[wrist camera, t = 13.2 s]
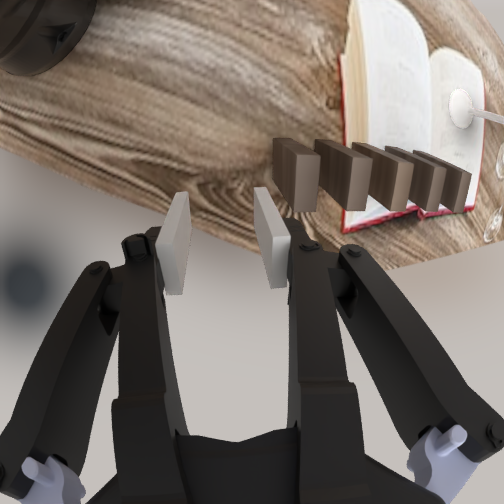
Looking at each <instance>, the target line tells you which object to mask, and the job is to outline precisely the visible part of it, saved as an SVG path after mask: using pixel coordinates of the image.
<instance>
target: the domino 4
mask: <svg viewBox="0 0 504 504" xmlns="http://www.w3.org/2000/svg"><path fill="white" fill-rule="evenodd" d="M385 151H386V152H388V153H391V154H393V155H395V156H397V157H400V158H402V159H404V160H406V161H408V162H411V163H413V164H414V168H413V174H412V180H411V186H410V191H409V196H408V199H409V200H410V201H412V202H413V203H415V204H416V205H417V206H419V207H420V208H422V209H423V210H424V211H431V212H438V208H439V204H440V199H441V195H442V191H443V186H444V181H445V176H446V170H447V169H446V168H444V167H442V166H440V165H437V164H435V163H433V162H431V161H429V160H426V159H424V158H422V157H419V156H417V155H415V154H412V153H410V152H407V151H405V150H403V149H400V148H397V147H391V146H385Z"/></svg>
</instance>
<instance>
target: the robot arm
mask: <svg viewBox="0 0 504 504" xmlns="http://www.w3.org/2000/svg"><path fill="white" fill-rule="evenodd" d="M95 6H96V0H0V68H1V69H3V70H5V71H7V72H8V73H10V74H12V75H17V76H28V75H36V74H39V73H42V72H44V71H46V70H48V69H50V68H51V67H53V66H54V65H55V64H57V63H58V62H59V61H61V60H62V59H63V58H64V57H65V56H66V55H67V54H68V53H69V52H70V51H71V50H72V49H73V47H74V46H75V45H76V44H77V42H78V41H79V40H80V38H81V37H82V35H83V34H84V32H85V31H86V29H87V27H88V25H89V23H90V21H91V19H92V16H93V13H94V10H95ZM254 228H255V232H256V236H257V240H258V243H259V247H260V251H261V254H262V258H263V261H264V265H265V269H266V273H267V277H268V280H269V284H270V288H271V289H272V288H283V287H287V278H288V281H289V294H288V305H289V382H288V418H287V428H286V429H279V430H273V431H271V432H268V433H265V434H262V435H259V436H256V437H254V438H250V439H247V440H244V441H241V442H230V441H224V440H218V439H213V438H208V437H203V436H197V435H194V436H193V435H192V436H191V435H190V434H189V432H188V429H187V425H186V421H185V417H184V412H183V408H182V403H181V398H180V394H179V389H178V383H177V378H176V373H175V367H174V361H173V356H172V349H171V342H170V336H169V329H168V321H167V313H166V306H165V299H164V295H163V290H164V287H165V291H166V295H181V294H182V291H183V285H184V278H185V271H186V265H187V258H188V252H189V246H190V240H191V233H192V225H191V216H190V207H189V197H188V191H186V192H176V194H175V196H174V199H173V201H172V203H171V206H170V208H169V210H168V213H167V215H166V218H165V220H164V223H163V226H160V227H151V228H150V229H149V230H147V231H146V233H145V234H143V233H140V234H134V235H131V236H129V237H127V238H125V239H124V240H123V241H122V243H121V245H122V248H123V252H124V256H125V264H124V265H122V266H119V267H115V268H111V269H110V266H109V264H108V262H105V261H96V262H93V263H91V264H90V265H88V266H87V267H86V268H85V269H84V271H83V272H82V273H81V275H80V277H79V278H78V280H77V281H76V283H75V284H74V286H73V288H72V289H71V291H70V293H69V294H68V296H67V298H66V300H65V301H64V303H63V305H62V307H61V308H60V310H59V312H58V313H57V315H56V317H55V319H54V321H53V323H52V324H51V326H50V328H49V330H48V332H47V334H46V336H45V338H44V340H43V342H42V344H41V346H40V348H39V350H38V352H37V354H36V356H35V358H34V361H33V363H32V365H31V368H30V370H29V372H28V374H27V377H26V379H25V382H24V384H23V387H22V389H21V392H20V394H19V397H18V400H17V402H16V405H15V408H14V411H13V414H12V417H11V420H10V421H9V423H8V424H7V426H6V427H5V429H4V430H3V432H2V434H1V435H0V492H1V493H3V494H5V495H7V496H10V497H12V498H14V499H16V500H18V501H20V502H21V503H22V504H81V502H80V499H81V498H83V497H84V496H85V494H86V490H85V488H84V486H83V485H82V484H81V482H80V479H79V476H80V474H81V471H82V468H83V465H84V462H85V458H86V454H87V450H88V445H89V439H90V434H91V430H92V425H93V421H94V416H95V412H96V408H97V404H98V400H99V396H100V392H101V388H102V384H103V381H104V377H105V374H106V370H107V367H108V363H109V360H110V357H111V354H112V351H113V347H114V344H115V341H116V338H117V335H118V332H119V350H118V385H119V396H118V398H117V399H114V400H113V402H112V406H111V413H112V431H113V443H114V453H115V461H116V469H117V474H116V475H115V476H114V477H113V478H112V479H111V480H110V481H109V482H108V483H107V484H106V485H105V486H104V487H103V488H101V490H99V492H97V493H96V494H95V495H94V496H93V497H92V498H91V499H90V500H89V501H88V502H87V503H86V504H450V502H451V501H452V500H453V499H454V498H455V496H456V495H457V494H458V493H459V491H460V490H461V489H462V487H463V486H464V485H465V483H466V482H467V480H468V479H469V478H470V476H471V475H472V473H473V472H474V471H475V469H476V468H477V466H478V465H479V464H480V463H481V462H482V461H484V460H486V459H487V458H489V457H490V456H492V455H493V454H495V453H497V452H498V451H500V450H501V449H502V448H503V447H504V419H503V418H502V417H501V416H500V415H499V414H498V413H497V412H496V411H495V410H494V409H492V408H491V406H490V405H489V404H487V403H486V402H485V401H484V400H483V399H482V398H481V397H480V396H479V395H478V394H477V393H476V392H474V391H473V390H472V389H471V388H470V387H469V386H468V385H467V383H466V382H465V380H464V379H463V377H462V375H461V374H460V372H459V371H458V369H457V368H456V366H455V365H454V363H453V362H452V360H451V359H450V357H449V356H448V354H447V353H446V351H445V350H444V348H443V347H442V345H441V344H440V343H439V341H438V340H437V338H436V337H435V335H434V334H433V333H432V332H431V330H430V328H429V327H428V326H427V324H426V323H425V322H424V320H423V319H422V318H421V316H420V315H419V314H418V312H417V311H416V310H415V308H414V307H413V306H412V305H411V303H410V302H409V301H408V299H407V298H406V297H405V296H404V295H403V293H402V292H401V291H400V289H399V288H398V287H397V286H396V285H395V283H394V282H393V281H392V280H391V279H390V277H389V276H388V275H387V274H386V272H385V271H384V270H383V269H382V268H381V267H380V265H379V264H378V263H377V262H376V261H375V260H374V258H373V257H372V256H371V255H370V254H369V253H368V252H367V250H365V249H364V248H362V247H360V246H359V245H355V244H347V245H343V246H342V247H341V248H340V252H339V253H334V252H327V251H323V247H322V245H321V244H320V243H318V242H316V241H314V240H311V239H310V238H309V236H308V234H307V233H306V231H305V229H304V228H303V226H302V224H301V223H300V221H298V220H296V219H295V218H281V216H280V214H279V212H278V210H277V208H276V206H275V204H274V202H273V200H272V198H271V196H270V194H269V192H268V190H267V188H266V187H254ZM336 309H337V311H338V312H339V314H340V316H341V318H342V320H343V322H344V324H345V325H346V328H347V329H348V331H349V333H350V335H351V337H352V339H353V341H354V343H355V345H356V347H357V349H358V351H359V353H360V355H361V357H362V359H363V361H364V363H365V365H366V367H367V368H368V371H369V373H370V375H371V377H372V379H373V381H374V383H375V385H376V387H377V389H378V391H379V393H380V396H381V398H382V400H383V402H384V404H385V406H386V408H387V411H388V413H389V415H390V417H391V419H392V422H393V424H394V426H395V428H396V430H397V432H398V434H399V436H400V437H401V439H402V440H403V442H404V443H405V445H406V446H407V448H408V449H409V450H410V453H409V460H408V461H407V468H408V469H409V470H410V471H412V472H414V476H415V482H412V481H410V480H408V479H407V478H405V477H403V476H401V475H399V474H398V473H396V472H394V471H393V470H391V469H389V468H387V467H386V466H384V465H382V464H381V463H379V462H377V461H376V460H374V459H373V458H371V457H369V456H368V455H366V454H365V452H364V441H363V431H362V422H361V415H360V407H359V399H358V393H357V389H356V386H355V384H354V383H351V382H349V380H348V377H347V370H346V364H345V357H344V350H343V344H342V339H341V333H340V328H339V322H338V317H337V311H336Z"/></svg>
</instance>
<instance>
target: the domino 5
mask: <svg viewBox="0 0 504 504" xmlns="http://www.w3.org/2000/svg"><path fill="white" fill-rule="evenodd" d="M413 154H415V155H417V156H419V157H422V158H424V159H426V160H429V161H431V162H433V163H435V164H437V165H440V166H442V167H444V168H446V169H447V170H446V176H445V181H444V186H443V191H442V195H441V199H440V204H442V205H443V206H445V207H446V208H448V209H449V210H451V211H452V212H460V213H463V210H464V206H465V202H466V198H467V194H468V189H469V185H470V180H471V175H472V174H471V173H469V172H467V171H465V170H463V169H461V168H459V167H457V166H455V165H452V164H450V163H448V162H446V161H444V160H441V159H439V158H437V157H434V156H432V155H430V154H427V153H425V152H422V151H416V150H413Z"/></svg>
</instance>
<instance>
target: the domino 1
mask: <svg viewBox="0 0 504 504" xmlns="http://www.w3.org/2000/svg"><path fill="white" fill-rule="evenodd" d="M320 157H321V156H320V155H319V154H317V153H315V152H314V151H312V150H310V149H309V148H307V147H305V146H303V145H302V144H300V143H298V142H296V141H294V140H293V139H291V138H273V178H272V179H273V181H274V182H275V184H276V185H277V187H278V189H279V190H280V192H281V193H282V195H283V196H284V198H285V199H286V201H287V202H288V204H289V206H290V207H291V209H292V210H293V212H316V205H317V195H318V183H319V171H320Z"/></svg>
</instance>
